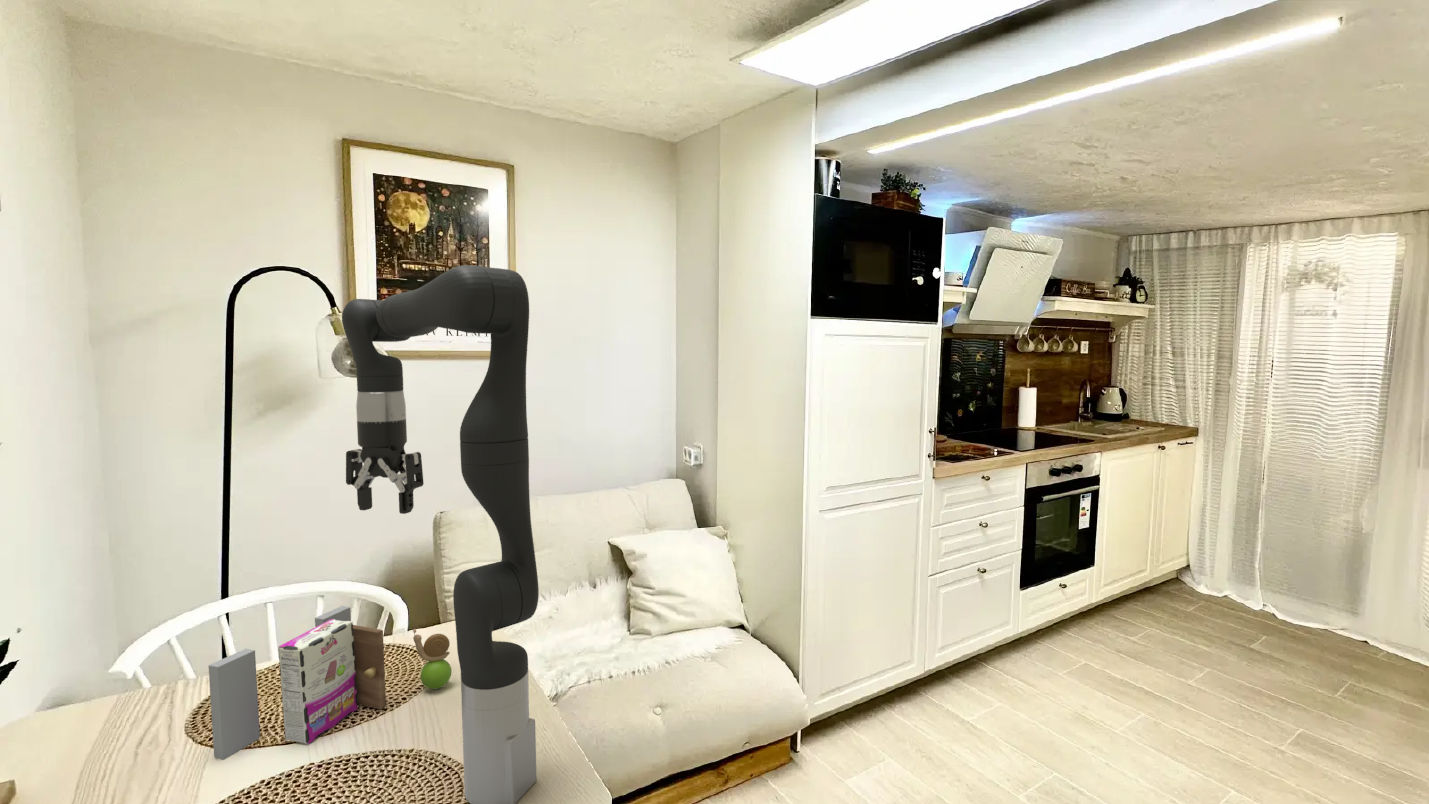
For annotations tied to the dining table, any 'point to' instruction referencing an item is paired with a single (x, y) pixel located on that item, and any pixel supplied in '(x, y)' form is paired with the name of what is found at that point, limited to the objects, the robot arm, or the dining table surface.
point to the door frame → (242, 696)
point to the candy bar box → (318, 680)
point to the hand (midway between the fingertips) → (385, 511)
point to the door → (369, 666)
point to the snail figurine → (434, 660)
